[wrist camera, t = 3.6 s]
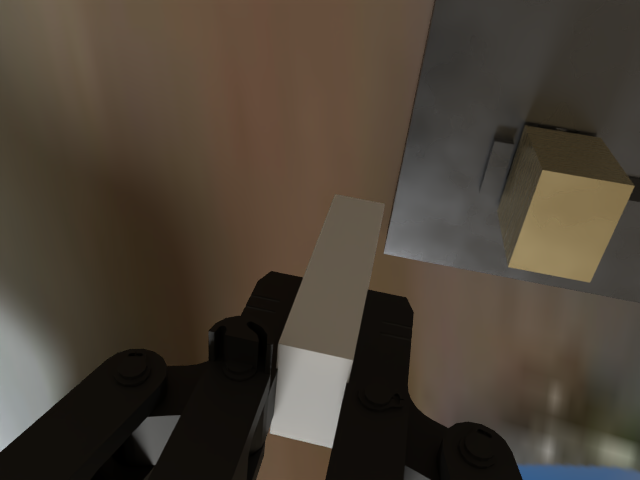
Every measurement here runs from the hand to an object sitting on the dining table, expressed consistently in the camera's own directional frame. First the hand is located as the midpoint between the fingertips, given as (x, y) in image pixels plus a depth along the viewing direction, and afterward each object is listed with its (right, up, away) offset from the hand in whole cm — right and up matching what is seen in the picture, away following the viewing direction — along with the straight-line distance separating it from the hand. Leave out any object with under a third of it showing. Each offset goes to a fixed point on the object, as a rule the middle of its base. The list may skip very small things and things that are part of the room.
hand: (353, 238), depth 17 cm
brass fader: (+9, +3, +7) cm, 11 cm away
